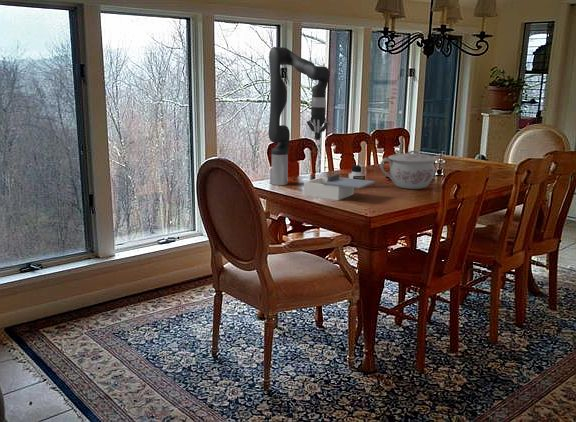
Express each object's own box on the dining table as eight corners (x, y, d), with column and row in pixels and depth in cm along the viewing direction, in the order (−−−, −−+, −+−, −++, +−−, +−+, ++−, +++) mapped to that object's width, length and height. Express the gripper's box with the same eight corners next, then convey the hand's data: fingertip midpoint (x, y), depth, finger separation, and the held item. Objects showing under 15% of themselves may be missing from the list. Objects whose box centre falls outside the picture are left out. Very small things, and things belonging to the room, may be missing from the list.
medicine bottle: (352, 188, 309) (353, 166, 306) (348, 185, 316) (348, 164, 313) (364, 187, 311) (365, 166, 308) (359, 185, 318) (360, 164, 315)
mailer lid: (322, 184, 281) (322, 177, 280) (339, 178, 296) (339, 172, 295) (359, 188, 270) (359, 181, 269) (374, 182, 285) (375, 176, 284)
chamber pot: (444, 187, 314) (447, 150, 309) (420, 194, 294) (423, 155, 289) (401, 180, 332) (403, 146, 327) (376, 187, 312) (377, 150, 307)
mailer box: (303, 195, 288) (303, 182, 286) (320, 189, 303) (320, 177, 301) (338, 200, 278) (338, 186, 276) (353, 194, 293) (354, 181, 291)
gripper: (303, 105, 287) (303, 139, 291) (326, 107, 280) (325, 141, 284) (311, 105, 293) (310, 138, 297) (333, 106, 286) (332, 140, 290)
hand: (317, 139), depth 291 cm, fingers closed
